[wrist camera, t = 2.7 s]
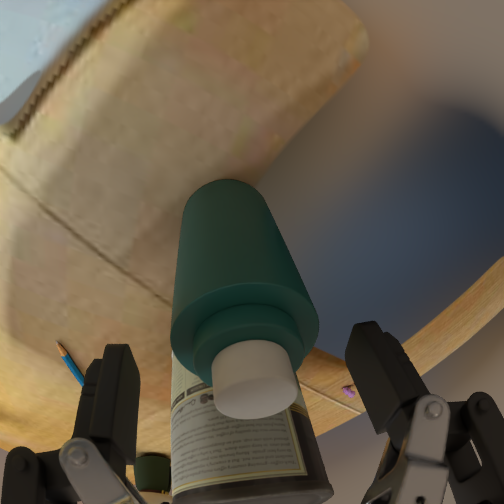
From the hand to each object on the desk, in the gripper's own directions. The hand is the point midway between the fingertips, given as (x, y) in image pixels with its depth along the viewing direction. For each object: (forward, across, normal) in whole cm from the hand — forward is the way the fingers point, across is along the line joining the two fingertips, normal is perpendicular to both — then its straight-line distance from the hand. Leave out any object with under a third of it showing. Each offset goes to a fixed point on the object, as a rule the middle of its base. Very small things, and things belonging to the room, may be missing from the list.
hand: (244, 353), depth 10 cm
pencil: (+11, +15, +19) cm, 26 cm away
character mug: (+11, +13, +38) cm, 42 cm away
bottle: (+10, 0, 0) cm, 11 cm away
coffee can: (+11, 0, +13) cm, 17 cm away
